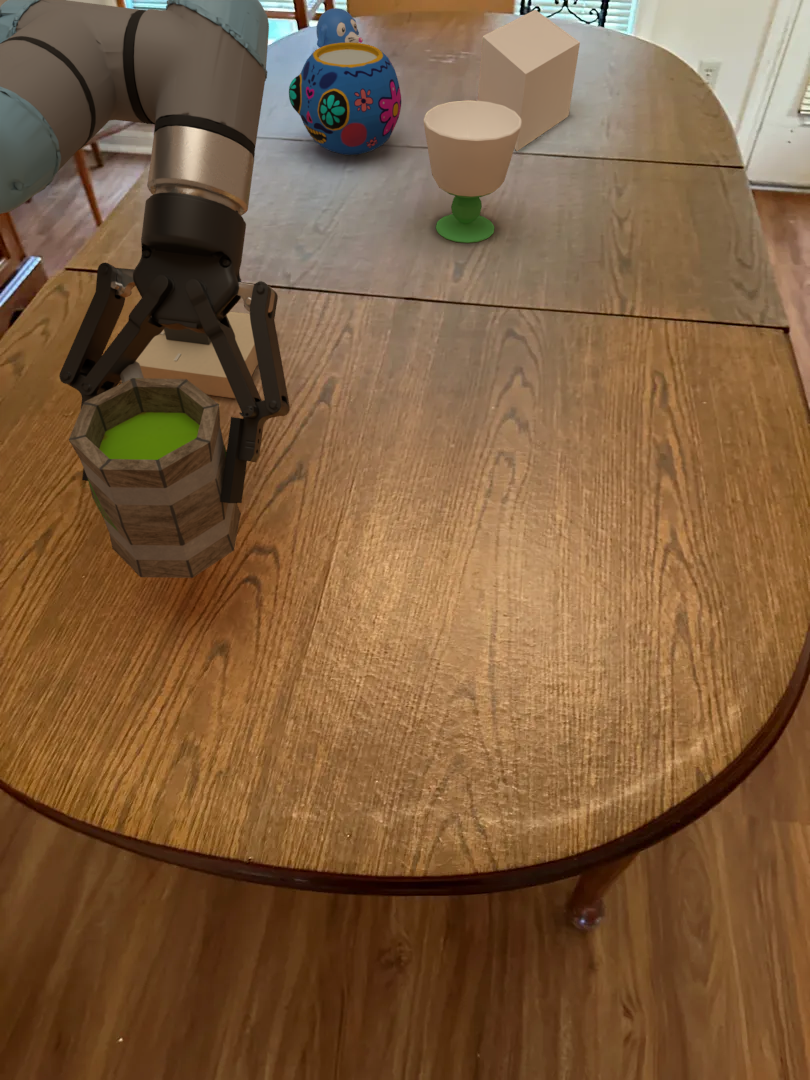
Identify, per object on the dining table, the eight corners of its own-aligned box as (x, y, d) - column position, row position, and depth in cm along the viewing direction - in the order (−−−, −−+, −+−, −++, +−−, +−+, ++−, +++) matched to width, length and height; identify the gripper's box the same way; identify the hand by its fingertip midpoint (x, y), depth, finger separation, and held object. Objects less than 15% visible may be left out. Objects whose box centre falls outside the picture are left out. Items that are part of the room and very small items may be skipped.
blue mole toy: (342, 70, 164) (340, 24, 158) (304, 56, 169) (300, 11, 163) (382, 56, 170) (382, 11, 163) (344, 43, 175) (342, -2, 169)
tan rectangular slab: (112, 381, 95) (105, 359, 92) (156, 321, 103) (150, 300, 101) (239, 399, 93) (234, 377, 90) (272, 336, 101) (269, 315, 99)
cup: (422, 251, 116) (425, 139, 104) (418, 207, 125) (420, 100, 113) (515, 251, 116) (528, 139, 104) (504, 207, 125) (515, 99, 113)
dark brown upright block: (166, 339, 95) (150, 278, 89) (172, 330, 97) (157, 269, 90) (209, 345, 95) (196, 283, 89) (215, 335, 96) (202, 274, 90)
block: (467, 147, 140) (473, 70, 130) (484, 76, 162) (490, 6, 153) (566, 155, 138) (579, 77, 129) (569, 82, 161) (580, 12, 151)
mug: (257, 558, 64) (237, 451, 55) (123, 597, 61) (79, 491, 52) (212, 437, 74) (188, 328, 64) (93, 467, 71) (51, 357, 62)
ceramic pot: (281, 146, 139) (270, 51, 128) (357, 120, 147) (354, 28, 136) (343, 180, 131) (338, 81, 119) (421, 150, 139) (423, 55, 127)
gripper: (353, 238, 62) (315, 512, 64) (83, 208, 65) (54, 471, 67) (332, 204, 55) (290, 515, 57) (29, 172, 58) (-3, 469, 60)
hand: (162, 491), depth 62 cm, fingers closed on mug, 11 cm apart
